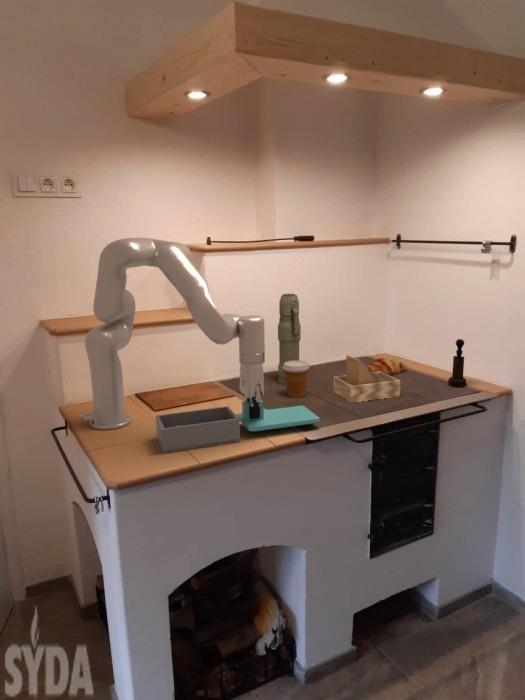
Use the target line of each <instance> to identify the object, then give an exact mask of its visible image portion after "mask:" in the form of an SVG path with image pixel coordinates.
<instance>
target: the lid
mask: <svg viewBox="0 0 525 700" xmlns="http://www.w3.org/2000/svg"><path fill="white" fill-rule="evenodd" d="M249 406H250V401H246V400H245V401H241V410H242V411H241V412H238V413H235V415H236V416H237V417H238V418H239V422H240V423H241V425H243V426H244V427H245V429H246V430H247V431H248V432H260V431H266V430H273V429H274V430H275V429H276V430H277V429H281V428H282V429H284V428H288V427H297V426H304V425H312V424H314V423H319V422H321V417H319V416H318V415H316V414H315V413H313V412H312V411H311V409H310V410H309V409H308V408H307V407H306V406H304V405H295V406H289V407H288V406H286V407H279V408H272V409H265V407H264V400H262V402H260V418H257V419H250V418H249Z"/></svg>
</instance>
